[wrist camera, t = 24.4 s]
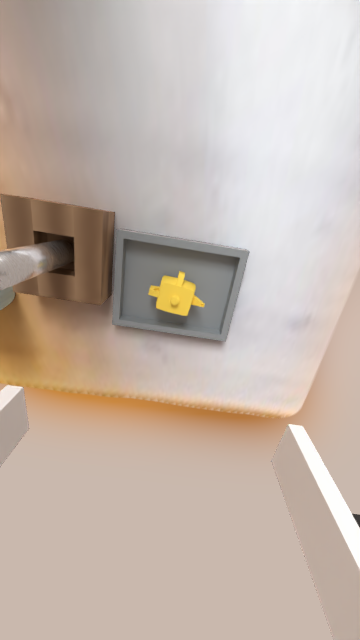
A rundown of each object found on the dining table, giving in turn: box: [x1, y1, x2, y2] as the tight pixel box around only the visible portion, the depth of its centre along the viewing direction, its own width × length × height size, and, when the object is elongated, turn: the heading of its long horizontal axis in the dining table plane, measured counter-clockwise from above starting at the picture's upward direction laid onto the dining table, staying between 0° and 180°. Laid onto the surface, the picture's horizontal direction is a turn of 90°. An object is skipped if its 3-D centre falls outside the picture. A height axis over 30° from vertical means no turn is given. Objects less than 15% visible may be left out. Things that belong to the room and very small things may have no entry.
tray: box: [112, 229, 249, 342], centre depth 35 cm, size 18×14×2 cm
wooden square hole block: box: [0, 194, 115, 305], centre depth 32 cm, size 12×12×5 cm
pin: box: [0, 239, 74, 290], centre depth 26 cm, size 3×3×14 cm
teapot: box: [148, 271, 205, 316], centre depth 34 cm, size 8×6×5 cm
